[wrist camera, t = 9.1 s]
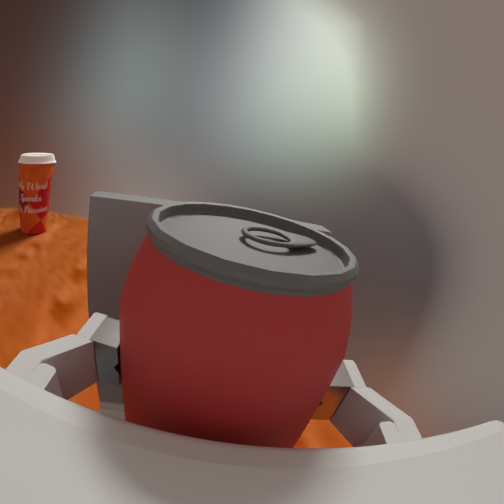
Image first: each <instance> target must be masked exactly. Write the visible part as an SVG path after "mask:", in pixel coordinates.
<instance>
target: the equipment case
mask: <svg viewBox="0 0 504 504" xmlns="http://www.w3.org/2000/svg"><path fill="white" fill-rule="evenodd" d="M177 202H178V201H171V200H164V199H157V198H149V197H142V196H134V195H126V194H118V193H109V192H101V191H96V192H95V193H94V194H92V195H91V196H90V206H89V220H88V243H87V287H88V310H89V318H90V317H91V316H92V315H93V314H94V313H96V312H98V313H101V314H104V315H107V316H111V317H114V318H117V319H119V304H120V299H121V295H122V292H123V288H124V284H125V281H126V277H127V274H128V271H129V268H130V265H131V262H132V260H133V258H134V256H135V254H136V252H137V250H138V248H139V246H140V244H141V242H142V241H143V239H144V237H145V235H146V234H147V232H148V231H147V230H146V228H145V226H146V221H147V218H148V216H149V213H150V212H152V211H153V210H154V209H156V208H158V207H161V206H163V205H165V204H170V203H177ZM293 221H294V220H293ZM296 222H299V221H296ZM299 223H301V224H304V225H306V226H309V227H311V228H314V229H316V230H318V231H320V232H322V233H324V234H326V235H328V236H331V232H330V231H329V230H327V229H325V228H324V227H323V226H320V225H315V224H310V223H304V222H299ZM97 388H98V394H99V399H100V413H103V414H106V415H109V416H112V417H115V418H118V419H121V420H125V412H124V403H123V392H122V382H121V385H120V386H116V385H112V384H109V383H106V382H102V381H99V380H98V381H97Z"/></svg>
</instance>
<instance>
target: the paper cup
mask: <svg viewBox="0 0 504 504" xmlns="http://www.w3.org/2000/svg"><path fill="white" fill-rule="evenodd" d="M56 162H57V161H55V157H54V154H51V153H25V154H22V155H21V156H20V160H19V161H18V163H19V212H20V226H21V232H22V233H24V234H30V235H34V234H40V233H43V232H45V231H46V230H47V221H48V208H49V198H50V189H51V180H52V174H53V167H54V163H56Z"/></svg>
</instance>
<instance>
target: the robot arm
mask: <svg viewBox="0 0 504 504" xmlns="http://www.w3.org/2000/svg"><path fill="white" fill-rule="evenodd" d="M98 380H99V381H102V382H106V383H109V384H112V385H116V386H120V385H121V382H122V379H121V362H120V332H119V319H117V318H114V317H111V316H107V315H104V314H101V313H98V312H96V313H94V314H93V315H92V316H91V317H90V318H89V320H88V321H87V322H86V323H85V325H84V326H83V327H82V328H81V330H80V331H79V332H78V333H77V335H74V334H72V335H69V336H66V337H63V338H60V339H57V340H54V341H51V342H48V343H45V344H42V345H39V346H35V347H32V348H29V349H26V350H23V351H21V352H20V353H19V354H18V356H17V357H16V358H15V359H14V360H13V361H12V362H11V364H10V365H9V366H8V367H7V368H6V370H5V369H3V368H2V367H0V504H504V423H503V422H500V421H497V420H495V421H490V422H487V423H484V424H481V425H477V426H474V427H471V428H467V429H463V430H459V431H456V432H451V433H447V434H443V435H438V436H433V437H429V438H424V439H422V437H421V435H420V433H419V431H418V429H417V427H416V425H415V423H414V421H413V419H412V418H411V417H409V416H407V415H406V414H405V413H404V412H402V411H401V410H399V409H398V408H397V407H395V406H394V405H393V404H391V403H390V402H388V401H387V400H386V399H384V398H383V397H381V396H380V395H379V394H378V393H376V392H375V391H373V390H372V389H371V388H366V385H365V383H364V381H363V379H362V377H361V375H360V372H359V370H358V368H357V366H356V364H355V362H354V361H353V360H343V361H342V363H341V365H340V367H339V369H338V371H337V373H336V375H335V377H334V379H333V381H332V382H331V384H330V386H329V388H328V390H327V392H326V393H325V395H324V397H323V399H322V401H321V402H320V404H319V406H318V408H317V409H316V411H315V413H314V414H313V416H312V418H311V419H319V420H330V421H331V423H332V424H333V425H334V426H335V427H336V428H337V429H338V430H339V432H340V433H341V434H342V435H343V436H344V437H345V438H346V439H347V440H348V441H349V443H350V444H351V445H352V446H353V447H348V448H279V447H263V446H252V445H242V444H233V443H226V442H219V441H212V440H206V439H200V438H194V437H189V436H184V435H179V434H175V433H170V432H166V431H161V430H157V429H153V428H149V427H146V426H142V425H138V424H135V423H131V422H128V421H125V420H121V419H118V418H115V417H112V416H109V415H106V414H103V413H100V412H97V411H94V410H92V409H89V408H86V407H84V406H81V405H78V404H76V403H73V402H71V401H69V400H68V399H70V398H71V397H73V396H75V395H76V394H78V393H79V392H81V391H83V390H84V389H86V388H88V387H89V386H91V385H93V384H94V383H96V382H97V381H98Z"/></svg>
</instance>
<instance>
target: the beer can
mask: <svg viewBox="0 0 504 504" xmlns="http://www.w3.org/2000/svg"><path fill="white" fill-rule="evenodd" d="M145 228H146V230H147V231H148V232H147V234H146V235H145V237H144V239H143V241H142V242H141V244H140V246H139V248H138V250H137V252H136V254H135V256H134V258H133V260H132V262H131V265H130V268H129V271H128V274H127V277H126V281H125V284H124V288H123V292H122V295H121V299H120V304H119V332H120V362H121V379H122V392H123V403H124V412H125V421H128V422H131V423H135V424H138V425H142V426H146V427H149V428H153V429H157V430H161V431H166V432H170V433H175V434H179V435H184V436H189V437H194V438H200V439H206V440H212V441H219V442H226V443H233V444H242V445H252V446H263V447H279V448H293V447H294V445H295V444H296V442H297V440H298V439H299V437H300V436H301V434H302V433H303V431H304V429H305V428H306V426H307V424H308V423H309V421H310V419H311V418H312V416H313V414H314V413H315V411H316V409H317V408H318V406H319V404H320V402H321V401H322V399H323V397H324V395H325V393H326V392H327V390H328V388H329V386H330V384H331V382H332V381H333V379H334V377H335V375H336V373H337V371H338V369H339V367H340V365H341V363H342V361H343V359H344V357H345V353H346V348H347V344H348V339H349V334H350V327H351V321H352V297H353V296H352V281H353V280H355V279H356V278H357V275H358V269H359V263H358V261H357V259H356V258H355V256H354V255H353V254H352V253H351V251H350V250H349V249H348V248H347V247H345V246H344V245H343V244H341V243H340V242H338V241H337V240H336V239H334V238H332V237H330V236H328V235H326V234H324V233H322V232H320V231H318V230H316V229H314V228H311V227H309V226H306V225H304V224H301V223H299V222H296V221H293V220H290V219H287V218H284V217H280V216H277V215H274V214H271V213H266V212H262V211H258V210H254V209H249V208H245V207H239V206H233V205H228V204H219V203H209V202H177V203H170V204H165V205H163V206H161V207H158V208H156V209H154V210H153V211H152V212H150V213H149V216H148V218H147V221H146V226H145Z"/></svg>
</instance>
